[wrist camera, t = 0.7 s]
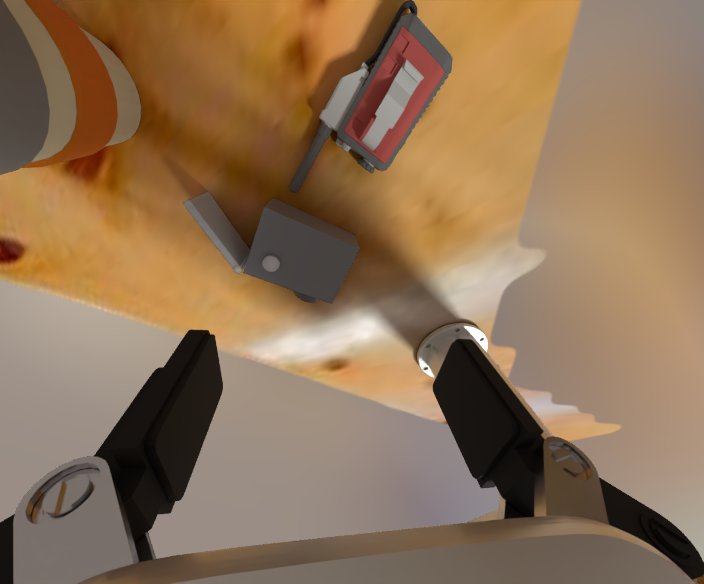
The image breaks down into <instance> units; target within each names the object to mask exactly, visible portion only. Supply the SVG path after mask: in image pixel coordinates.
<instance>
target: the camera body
mask: <svg viewBox="0 0 704 584" xmlns="http://www.w3.org/2000/svg"><path fill="white" fill-rule="evenodd" d="M359 250H360V247H359V244H358V242H357V239H356V236H355V234H353V233H350V232H348V231H346V230H344V229H342V228H339V227H337V226H335V225H333V224H331V223H328V222H326V221H324V220H322V219H320V218H317V217H315V216H313V215H311V214H308V213H306V212H304V211H302V210H300V209H297V208H295V207H293V206H291V205H289V204H286V203H284V202H282V201H280V200H278V199H275V198H272V199H271V200H270V201H269V202H268V203H267V204H266V205H265V206H264V208H263V212H262V215H261V218H260V221H259V224H258V228H257V231H256V234H255V237H254V240H253V244H252V247H251V250H250V253H249V256H248V260H247V263H246V266H245V269H244V272H243V273H245V274H248V275H251V276H254V277H257V278H260V279H263V280H265V281H268V282H271V283H274V284H277V285H280V286H282V287H285V288H288V289H291V290H294V293H295V295H296V296H297V297H298V298H300V299H301V300H303V301H306V302H310V303H315V302H317V301H318V300H319V299H320V300H322V301H325V302H328V303H331V304H332V302H333V301H334V299H335V297H336V295H337V293H338V291H339V289H340V287H341V285H342V283H343V281H344V279H345V277H346V275H347V273H348V272H349V270H350V268H351V266H352V264H353V262H354V260H355V258H356V256H357V254H358V252H359Z"/></svg>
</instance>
